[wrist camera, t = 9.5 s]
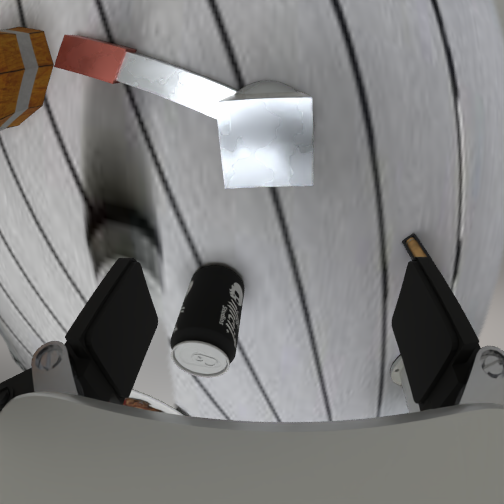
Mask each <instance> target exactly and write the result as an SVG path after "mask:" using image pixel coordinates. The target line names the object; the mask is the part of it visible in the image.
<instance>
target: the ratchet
mask: <svg viewBox="0 0 504 504" xmlns="http://www.w3.org/2000/svg"><path fill="white" fill-rule="evenodd" d="M54 67H57V68H61V69H65V70H68V71H72V72H76V73H79V74H83V75H86V76H89V77H93V78H96V79H99V80H102V81H106V82H109V83H112V84H114V83H124V84H127V85H130V86H133V87H136V88H139V89H142V90H145V91H148V92H150V93H153V94H156V95H158V96H161V97H164V98H166V99H169V100H172V101H174V102H177V103H179V104H182V105H184V106H187V107H189V108H192V109H194V110H197V111H199V112H201V113H204V114H206V115H208V116H211V117H213V118H215V119H217V113H216V103H215V102H217V101H219V100H222V99H224V98H226V97H228V96H230V95H240V94H255V93H276V92H297V91H296V90H295V89H293V88H291V87H290V86H288V85H286V84H283V83H280V82H276V81H260V82H256V83H252V84H250V85H247V86H245V87H243V88H242V89H240V90H239V91H238V90H236V89H234V88H232V87H229V86H227V85H225V84H222V83H220V82H217V81H215V80H213V79H210V78H208V77H205V76H202V75H200V74H197V73H195V72H192V71H189V70H187V69H184V68H181V67H178V66H176V65H173V64H170V63H167V62H164V61H161V60H158V59H155V58H152V57H149V56H145V55H142V54H139V53H136V50H135V49H132V48H128V47H125V46H121V45H117V44H113V43H109V42H105V41H101V40H97V39H93V38H88V37H83V36H78V35H64V38H63V41H62V44H61V47H60V50H59V53H58V56H57V59H56V62H55V65H54ZM313 134H314V117H313Z"/></svg>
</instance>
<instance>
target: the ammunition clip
mask: <svg viewBox="0 0 504 504" xmlns="http://www.w3.org/2000/svg"><path fill="white" fill-rule="evenodd" d="M402 243H403V244H404V246H405V248H406V250H407V251H408V253H409V255H410V257H411V259H412V260H413V258H414V257H430V255H429V254H428V252H427V251H426V249H425V248H424V246H423V245H422V243H421V242H420V241H419V239H418V238H417V236H416V235H415V234H412V235H411V236H409V237H408V238H406V239H405V240H403V241H402ZM430 258H431V257H430ZM431 259H432V258H431Z"/></svg>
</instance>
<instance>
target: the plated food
mask: <svg viewBox="0 0 504 504" xmlns="http://www.w3.org/2000/svg"><path fill="white" fill-rule="evenodd" d="M123 405H124V406H129V407H134V408H140V409H145V410H150V411H156V412H162V413H169V414H176V415H183V414H181V413H180V412H179V411H177V410H176V409H174V408H173V407H171V406H169V405H167V404H165V403H164V402H162V401H159V400H157V399H155V398H153V397H151V396H149V395H146V394H144V393H141V392H139V391H136V390H133V389H132V391H131V393H130V396H129V397H128V398H125V400H124V403H123ZM183 416H184V415H183Z"/></svg>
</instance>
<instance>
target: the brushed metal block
mask: <svg viewBox="0 0 504 504" xmlns="http://www.w3.org/2000/svg"><path fill="white" fill-rule="evenodd" d="M215 103H216V113H217V122H218V132H219V141H220V150H221V159H222V168H223V177H224V186H225V189H229V188H250V187H278V186H313V112H312V97H310V96H308V95H307V94H305V93H303V92H276V93H255V94H240V95H230V96H228V97H226V98H224V99H222V100H219V101H217V102H215Z"/></svg>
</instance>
